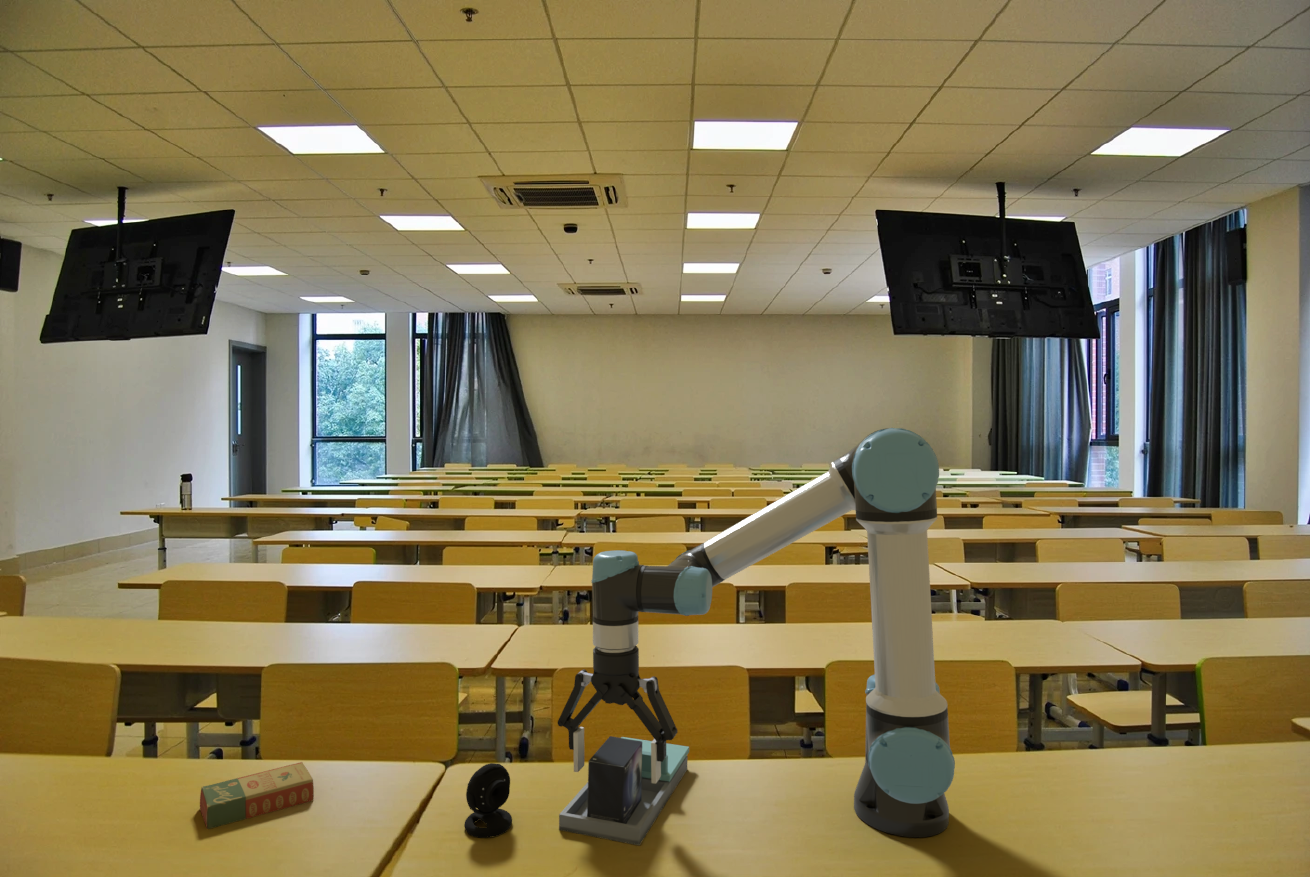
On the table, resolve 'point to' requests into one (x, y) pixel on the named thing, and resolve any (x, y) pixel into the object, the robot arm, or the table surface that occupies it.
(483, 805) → the webcam
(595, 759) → the small box
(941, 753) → the robot arm
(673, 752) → the lid
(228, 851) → the table surface
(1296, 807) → the table surface
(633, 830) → the tray
